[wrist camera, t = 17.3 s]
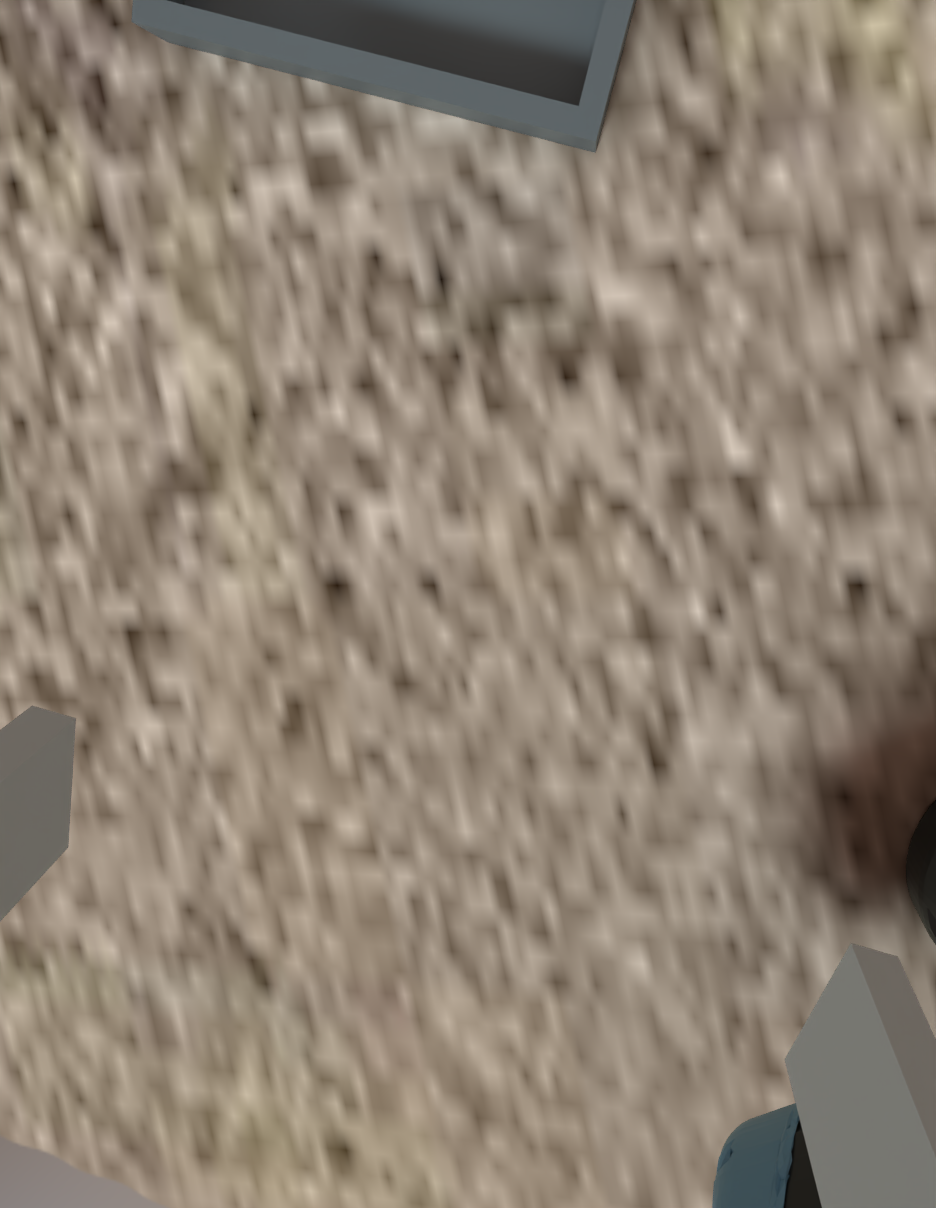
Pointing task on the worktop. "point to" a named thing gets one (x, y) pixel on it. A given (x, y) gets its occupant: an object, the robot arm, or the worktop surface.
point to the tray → (428, 52)
